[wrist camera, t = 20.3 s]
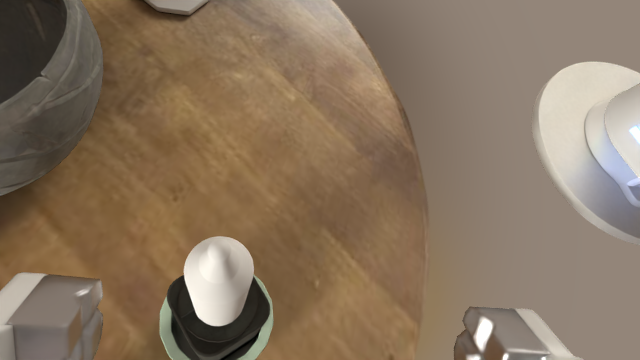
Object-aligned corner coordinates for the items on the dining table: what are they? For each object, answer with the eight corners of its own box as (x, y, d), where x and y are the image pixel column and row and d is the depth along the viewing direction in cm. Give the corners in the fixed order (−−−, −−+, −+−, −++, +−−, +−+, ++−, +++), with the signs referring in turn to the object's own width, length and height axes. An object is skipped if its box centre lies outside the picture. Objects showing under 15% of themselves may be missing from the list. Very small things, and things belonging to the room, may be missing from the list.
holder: (277, 294, 41) (286, 281, 36) (247, 390, 38) (252, 391, 32) (190, 266, 41) (186, 248, 35) (151, 361, 37) (140, 357, 32)
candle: (177, 316, 38) (117, 223, 16) (230, 284, 40) (245, 160, 18) (206, 371, 37) (187, 353, 15) (260, 334, 39) (316, 270, 17)
